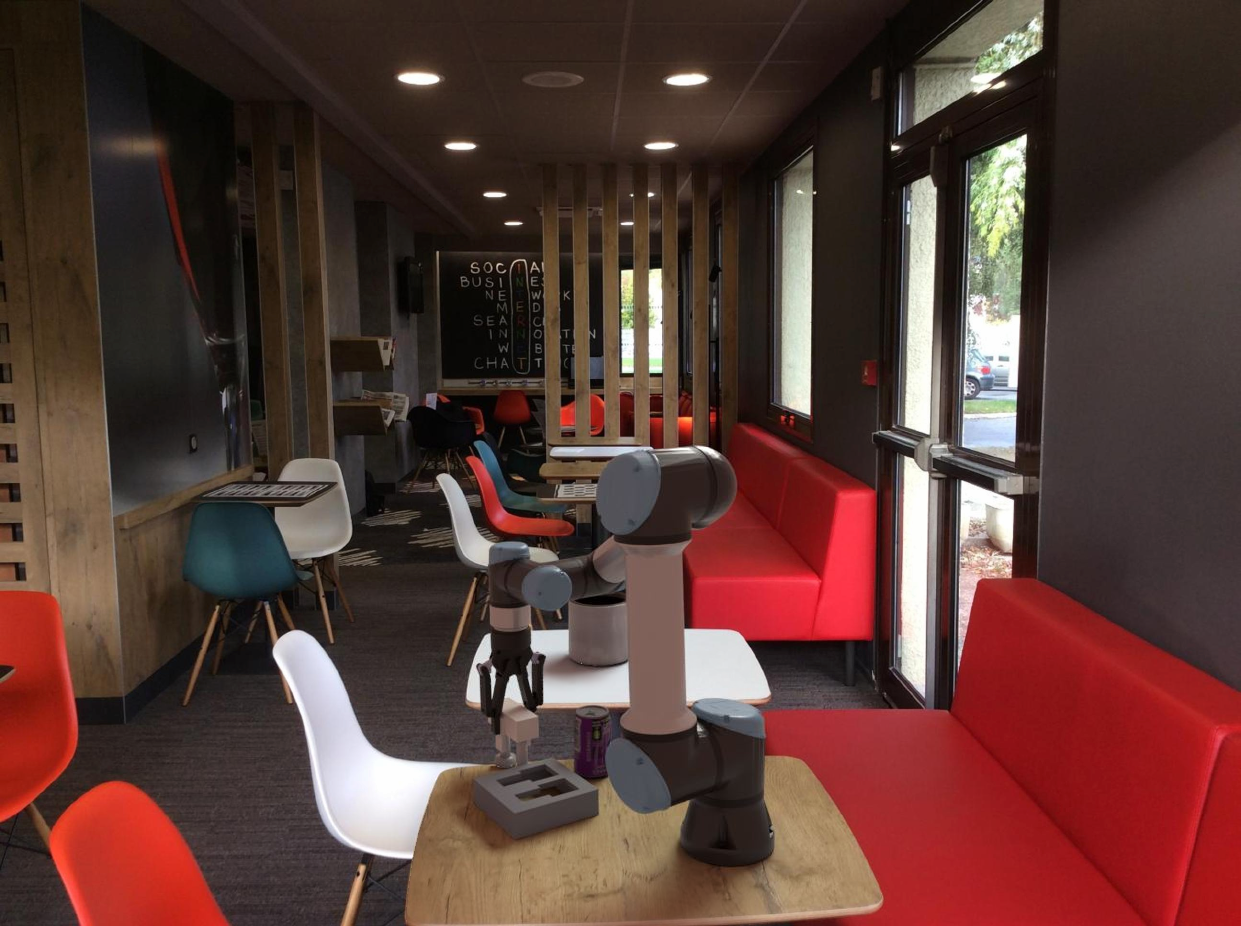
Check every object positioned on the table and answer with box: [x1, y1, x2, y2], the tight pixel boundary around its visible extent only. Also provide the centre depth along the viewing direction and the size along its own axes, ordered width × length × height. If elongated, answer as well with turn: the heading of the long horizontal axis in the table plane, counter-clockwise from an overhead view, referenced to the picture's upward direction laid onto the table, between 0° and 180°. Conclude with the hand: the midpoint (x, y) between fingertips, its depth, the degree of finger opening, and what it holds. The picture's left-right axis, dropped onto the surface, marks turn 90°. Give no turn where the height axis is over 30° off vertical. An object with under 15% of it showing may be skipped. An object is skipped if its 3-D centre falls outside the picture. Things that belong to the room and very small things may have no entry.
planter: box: [568, 591, 628, 667], centre depth 261 cm, size 16×16×16 cm
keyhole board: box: [472, 757, 600, 840], centre depth 180 cm, size 16×16×4 cm
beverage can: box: [572, 704, 613, 779], centre depth 194 cm, size 7×7×12 cm
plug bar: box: [487, 697, 540, 769], centre depth 195 cm, size 12×4×12 cm, turn 33°
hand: (513, 746), depth 195 cm, fingers closed on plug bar, 4 cm apart
